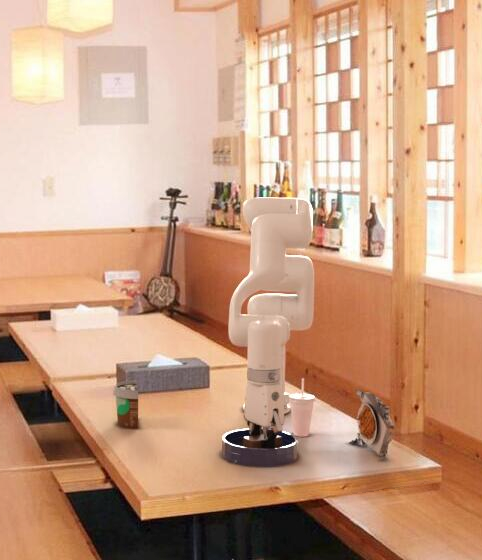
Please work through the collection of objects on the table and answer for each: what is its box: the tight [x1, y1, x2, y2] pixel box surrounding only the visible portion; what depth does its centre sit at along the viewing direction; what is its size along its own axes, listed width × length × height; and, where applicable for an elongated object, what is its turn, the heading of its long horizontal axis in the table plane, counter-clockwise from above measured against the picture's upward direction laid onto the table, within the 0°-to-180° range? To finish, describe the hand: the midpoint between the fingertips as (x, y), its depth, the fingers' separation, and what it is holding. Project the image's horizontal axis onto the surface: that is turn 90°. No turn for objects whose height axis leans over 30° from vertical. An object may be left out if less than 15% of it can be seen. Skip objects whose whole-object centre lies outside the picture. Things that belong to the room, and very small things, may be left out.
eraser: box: [243, 434, 282, 449], centre depth 240 cm, size 8×4×4 cm, turn 120°
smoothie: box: [289, 377, 316, 438], centre depth 259 cm, size 6×6×14 cm
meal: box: [348, 389, 395, 461], centre depth 245 cm, size 15×4×13 cm, turn 19°
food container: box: [112, 380, 139, 430], centre depth 267 cm, size 12×6×10 cm, turn 5°
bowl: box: [221, 428, 299, 468], centre depth 241 cm, size 17×17×4 cm
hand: (262, 452), depth 240 cm, fingers closed on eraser, 4 cm apart
